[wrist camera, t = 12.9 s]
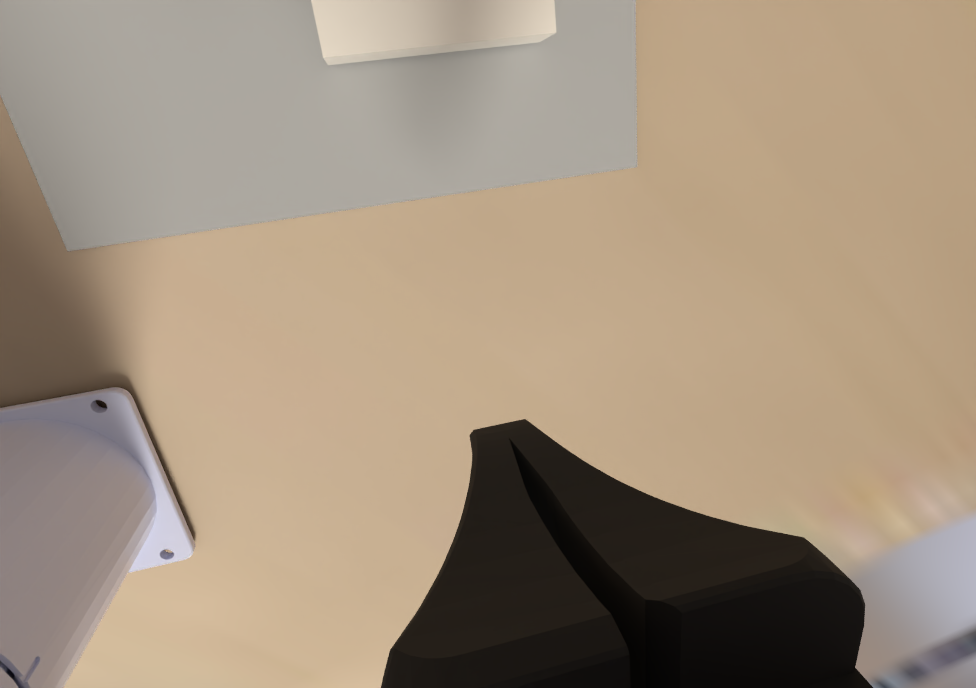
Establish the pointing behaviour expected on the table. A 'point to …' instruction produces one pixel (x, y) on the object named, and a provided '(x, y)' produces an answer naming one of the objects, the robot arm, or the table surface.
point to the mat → (293, 113)
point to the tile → (426, 26)
